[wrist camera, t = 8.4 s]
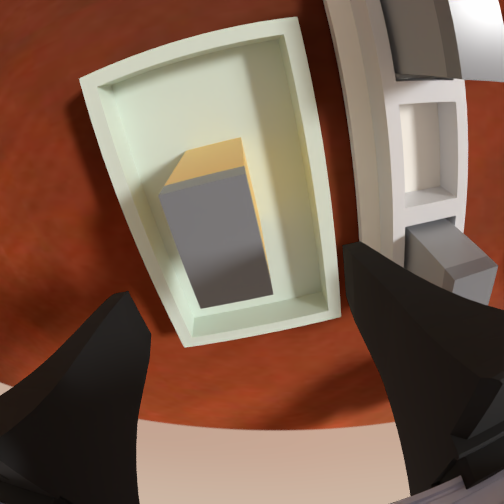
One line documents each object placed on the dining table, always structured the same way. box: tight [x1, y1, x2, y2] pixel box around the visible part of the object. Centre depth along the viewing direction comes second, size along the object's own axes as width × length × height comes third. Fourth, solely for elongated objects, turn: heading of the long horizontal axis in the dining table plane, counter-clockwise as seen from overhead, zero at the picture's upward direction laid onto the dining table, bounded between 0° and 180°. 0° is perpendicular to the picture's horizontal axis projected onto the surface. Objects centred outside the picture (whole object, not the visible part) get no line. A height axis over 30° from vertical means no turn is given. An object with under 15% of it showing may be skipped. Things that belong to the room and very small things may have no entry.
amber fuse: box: [158, 137, 273, 309], centre depth 15 cm, size 5×3×7 cm, turn 12°
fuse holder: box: [323, 0, 468, 268], centre depth 16 cm, size 23×8×3 cm, turn 12°
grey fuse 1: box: [380, 0, 504, 82], centre depth 10 cm, size 5×3×7 cm, turn 12°
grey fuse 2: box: [404, 218, 498, 306], centre depth 17 cm, size 5×3×7 cm, turn 12°
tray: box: [79, 17, 341, 347], centre depth 17 cm, size 18×11×2 cm, turn 12°
